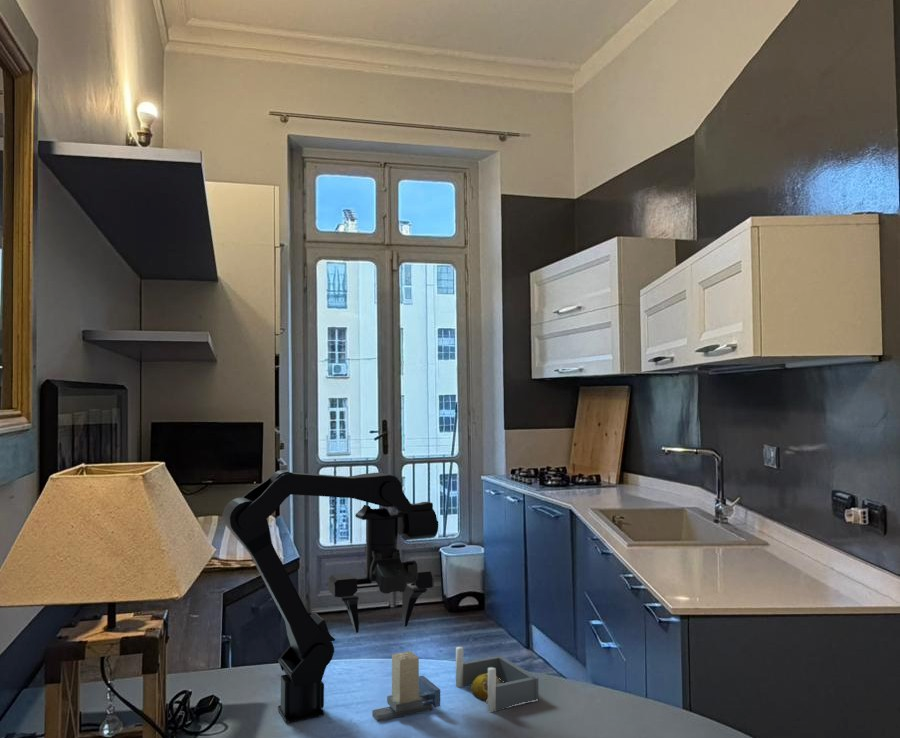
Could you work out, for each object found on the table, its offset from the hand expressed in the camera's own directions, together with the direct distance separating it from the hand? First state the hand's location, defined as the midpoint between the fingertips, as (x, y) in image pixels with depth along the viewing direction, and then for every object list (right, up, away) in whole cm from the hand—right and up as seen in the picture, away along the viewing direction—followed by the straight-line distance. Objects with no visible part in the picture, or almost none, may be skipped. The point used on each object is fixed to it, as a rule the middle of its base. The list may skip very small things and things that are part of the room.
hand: (381, 629), depth 128 cm
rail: (+4, -12, -8) cm, 15 cm away
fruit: (+21, -12, -1) cm, 24 cm away
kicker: (+6, -10, -7) cm, 14 cm away
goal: (+21, -12, +1) cm, 25 cm away
